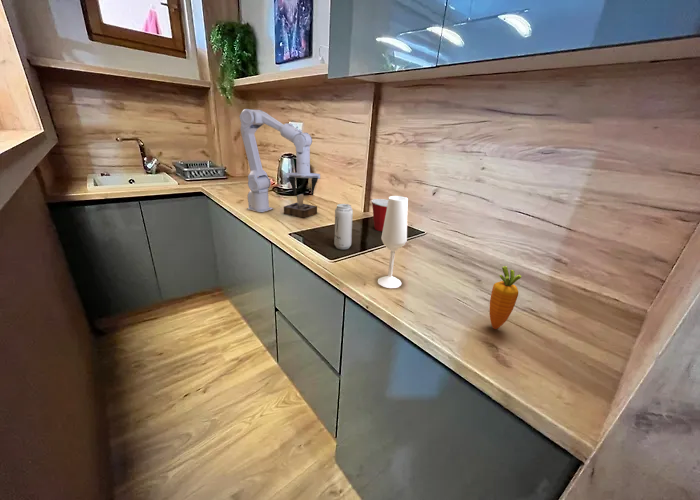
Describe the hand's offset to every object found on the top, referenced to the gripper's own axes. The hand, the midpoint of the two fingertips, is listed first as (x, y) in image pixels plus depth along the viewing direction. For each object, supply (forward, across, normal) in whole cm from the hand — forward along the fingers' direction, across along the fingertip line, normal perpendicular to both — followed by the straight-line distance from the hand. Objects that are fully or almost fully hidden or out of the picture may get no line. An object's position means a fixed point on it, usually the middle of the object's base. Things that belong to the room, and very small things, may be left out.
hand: (303, 194), depth 135 cm
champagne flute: (+10, +30, -60) cm, 68 cm away
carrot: (+10, +51, -81) cm, 96 cm away
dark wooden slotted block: (+10, -2, +4) cm, 11 cm away
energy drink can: (+10, +17, -35) cm, 40 cm away
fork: (+10, -2, +4) cm, 11 cm away
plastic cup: (+10, +34, -15) cm, 39 cm away
